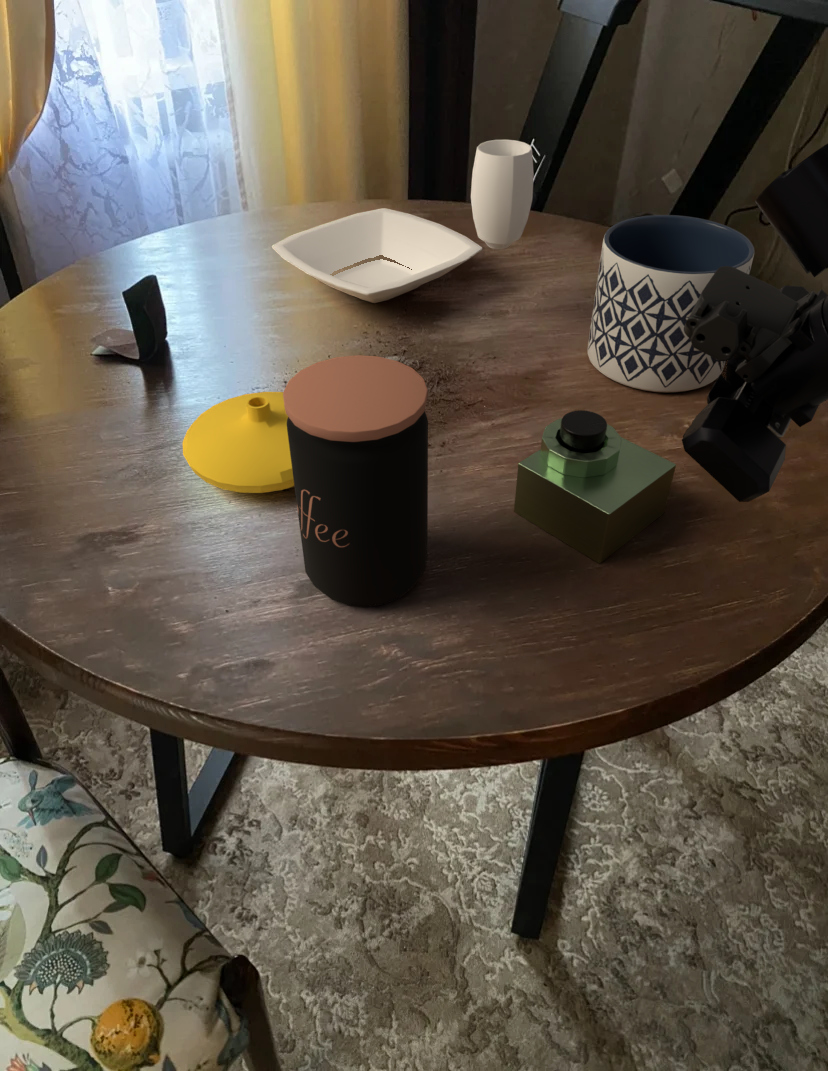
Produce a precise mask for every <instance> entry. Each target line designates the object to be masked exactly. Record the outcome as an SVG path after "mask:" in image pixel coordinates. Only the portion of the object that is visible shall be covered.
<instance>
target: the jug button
mask: <svg viewBox="0 0 828 1071" xmlns="http://www.w3.org/2000/svg"><path fill="white" fill-rule="evenodd" d="M561 418H562V420H561V427H560V435H559V442H560V444H561V445H562V446H563V447H564V448H566V449H568V450H570V451H573V452H579V453H592V452H597V451H599V450H600V449H601V448H602V447H603V446H604V441H605V435H606V430H607V424H608V422H607V420H606V419H605V418H604V417H603V416H602V415H601V414H599V413H597V412H594V411H591V410H584V409H580V410H579V409H578V410H573V411H569V412H567V413H566V414H564V415H563V416H562V417H561Z"/></svg>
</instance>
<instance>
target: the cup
mask: <svg viewBox="0 0 828 1071" xmlns="http://www.w3.org/2000/svg"><path fill="white" fill-rule="evenodd" d="M534 175H535V174H534V158H533V149H532V146H531V145H530V144H529V143H526V142H524V141H520V140H514V139H493V140H487V141H483V142H481V143H479V144H478V146H476V151H475V156H474V161H473V167H472V174H471V186H470V187H471V188H470V202H471V211H472V219H473V223H474V227H475V231H476V234H477V238H478V239H479V240H481V241H482V242H484V243H485V244H486V246H487V247H488V248H490V249H493V250H498V251H501V250H505V249H508V248H510V247H511V245H513V244H514V243H515V242H518V241H519V240H520V239H521V238H522V235H523V233H524V230H525V229H526V226H527V223H528V219H529V216H530V211H531V207H532V204H533V199H534V198H533V195H534Z"/></svg>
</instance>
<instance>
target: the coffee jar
mask: <svg viewBox="0 0 828 1071" xmlns="http://www.w3.org/2000/svg"><path fill="white" fill-rule="evenodd" d="M428 390H429V389H428V386H427V385H426V382H425V379H424V377H423V376H421V375H420V374H419V373H418V372H417V371H416V370H415V369H414V368H413V367H411V366H408V365H407V364H404V363H402V362H400V361H399V360H395V359H390V358H386V357H382V356H376V355H375V356H374V355H363V354H362V355H360V354H355V355H345V356H336V357H333V358H328V359H325V360H321V361H317V362H315V363H313V364H311V365H308V366H307V367H305V368H303V369H300V370H299V371H298V372H297V373H295V375H294V376H292V377H291V378H290V379H289V380H288V381H287V384H286V386H285V388H284V390H283V391H282V392H283V399H284V407H285V411H286V414H287V416H288V419H287V432H288V440H289V448H290V456H291V463H292V471H293V479H294V486H293V488H294V493H295V500H296V510H297V516H298V524H299V533H300V539H301V540H300V541H301V548H302V557H303V564H304V571H305V574H306V575H307V577H308V579H309V580H310V582H311V583H312V585H313V586H314V588H315V589H317V590H319V592H321V593H322V594H323V595H325V596H326V597H328V598H330V599H331V600H332V601H335V602H337V603H341V604H343V605H345V606H351V607H359V608H360V607H361V608H368V607H375V606H383V605H386V604H388V603H391V602H394V601H395V600H398V599H400V598H401V597H402V596H404V595H405V594H406V593H408V592H409V591H411V589H412V588H413V587H415V586H416V584H417V583H418V581H419V580H420V579H421V577H422V575H423V574H424V572H425V571H426V566H427V562H428V541H429V540H428V535H429V534H428V533H429V532H428V531H429V530H428V527H429V526H428V518H429V517H428V514H429V513H428V512H429V509H428V508H429V505H428V502H429V501H428V500H429V497H428V496H429V495H428V494H429V419H428V417H427V413H426V406H427V402H428V394H429V391H428Z"/></svg>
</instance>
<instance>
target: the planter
mask: <svg viewBox="0 0 828 1071" xmlns="http://www.w3.org/2000/svg"><path fill="white" fill-rule="evenodd" d="M601 246H602V247H601V253H600V258H599V266H598V272H597V277H596V278H597V279H596V286H595V291H594V292H595V294H594V299H593V306H592V312H591V321H590V327H589V335H588V340H587V356H588V359H589V362H590V363H591V364H592V365H593V367H594V368H595V369H596V370H597V371H599V372H600V373H601V374H602V375H604V376H605V377H607V378H608V379H610V380H612V381H614V382H616V383H618V384H621V385H623V386H626V387H629V388H632V389H636V390H641V391H645V392H646V391H647V392H652V393H653V392H654V393H680V392H681V393H682V392H688V391H693V390H697V389H700V388H703V387H706V386H707V385H709V384H712V383H713V382H714V381H716V380H717V379H718V377H719V375H722V373H723V371H724V369H725V366H726V363H727V361H719V360H717V359H715V358H713V357H711V356H709V355H707V354H705V353H703V352H701V351H699V350H697V349H695V348H694V347H693V345H692V343H691V339H690V338H689V337H687V335H686V334H685V332H684V326H685V324H686V321H687V319H688V318H689V316H690V314H691V312H692V310H693V308H694V306H695V304H696V302H697V301H698V299H699V297H700V295H701V293H702V291H703V289H704V288H705V287H706V285H707V284H708V282H709V281H710V279H711V278H712V276H713V275H714V273H715V272H716V270H717V269H718V268H719V267H722V266H730V267H734V268H736V269H738V270H740V271H742V272H745V273H747V274H749V275H750V273H751V269H752V264H753V261H754V257H755V247H754V245H753V243H752V241H751V240H750V239H749V238H748V237H747V236H746V235H744V234H743V233H742V232H740V231H739V230H736V229H734V228H732V227H730V226H728V225H726V224H722V223H720V222H717V221H712V220H709V219H704V218H699V217H694V216H688V215H687V216H686V215H677V214H676V215H675V214H652V215H642V216H636V217H632V218H627V219H624V220H622V221H618V222H617V223H615V224H613V225H612V226H611V227H609V228H608V229H607V230H606V232H605V233H604V236H603V240H602V245H601Z"/></svg>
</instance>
